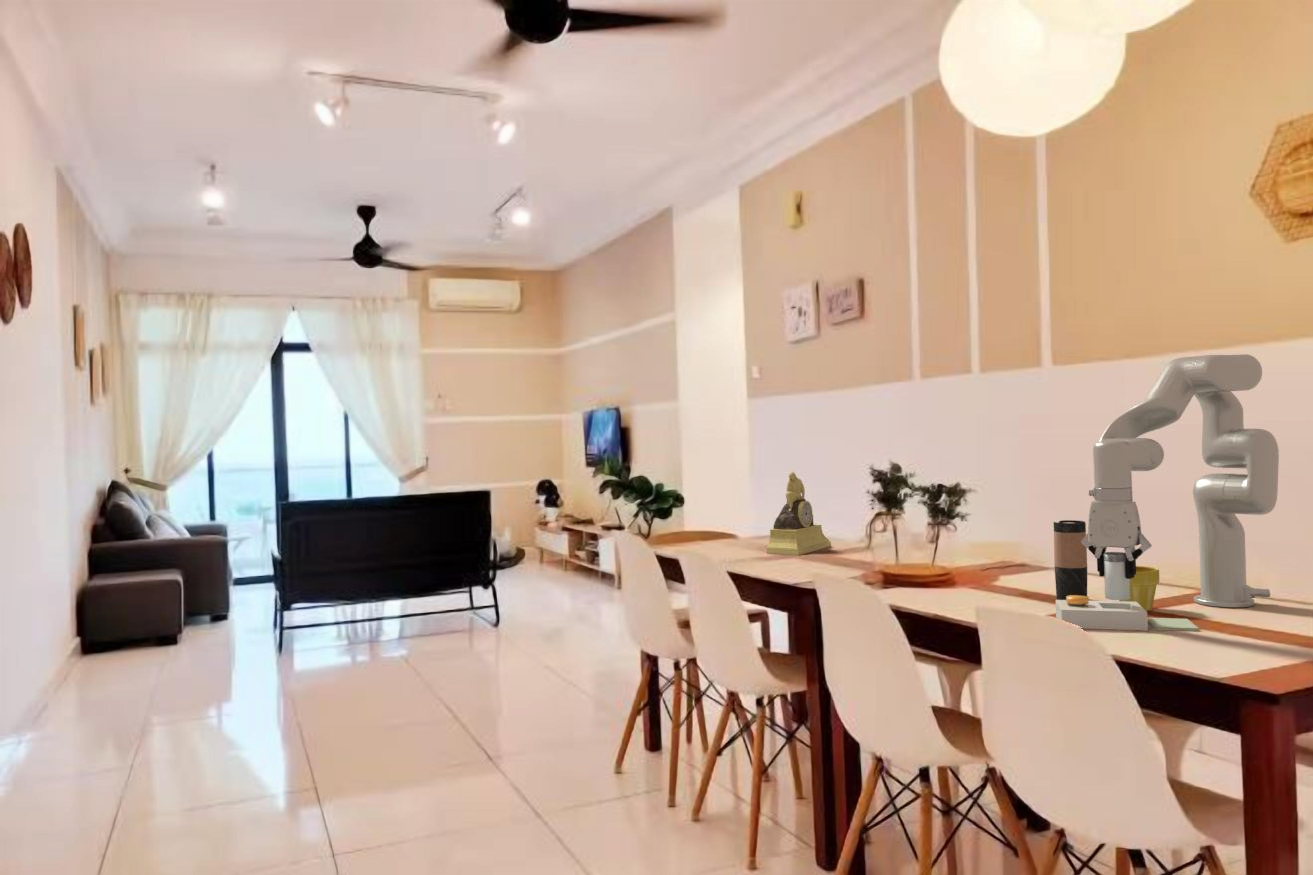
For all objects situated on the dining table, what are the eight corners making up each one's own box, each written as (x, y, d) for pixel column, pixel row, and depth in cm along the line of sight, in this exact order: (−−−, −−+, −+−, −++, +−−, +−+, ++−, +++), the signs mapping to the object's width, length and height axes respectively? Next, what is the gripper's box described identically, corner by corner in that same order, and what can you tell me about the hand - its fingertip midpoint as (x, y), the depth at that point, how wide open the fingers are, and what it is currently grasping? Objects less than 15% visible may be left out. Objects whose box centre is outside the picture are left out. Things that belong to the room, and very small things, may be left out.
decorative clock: (798, 555, 332) (795, 473, 332) (766, 553, 340) (764, 473, 339) (831, 546, 355) (828, 469, 355) (801, 544, 362) (798, 469, 362)
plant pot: (1102, 607, 222) (1101, 567, 222) (1132, 603, 226) (1131, 563, 226) (1139, 614, 213) (1138, 573, 213) (1170, 610, 217) (1169, 569, 217)
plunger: (1087, 613, 208) (1087, 595, 208) (1090, 617, 204) (1089, 599, 204) (1065, 613, 209) (1065, 594, 209) (1068, 617, 205) (1067, 598, 205)
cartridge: (1110, 594, 208) (1108, 551, 208) (1133, 597, 204) (1132, 552, 204) (1101, 598, 205) (1099, 554, 204) (1124, 600, 201) (1123, 555, 201)
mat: (1187, 621, 204) (1187, 618, 204) (1198, 630, 195) (1198, 628, 195) (1147, 620, 207) (1147, 617, 207) (1157, 629, 197) (1156, 626, 197)
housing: (1136, 619, 208) (1136, 601, 208) (1147, 630, 197) (1147, 611, 197) (1056, 616, 214) (1055, 599, 214) (1061, 627, 202) (1061, 609, 202)
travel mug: (1091, 602, 229) (1089, 523, 229) (1059, 602, 230) (1056, 523, 230) (1084, 597, 236) (1081, 519, 236) (1052, 597, 238) (1050, 520, 238)
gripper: (1067, 496, 208) (1071, 575, 208) (1147, 498, 195) (1151, 582, 195) (1082, 493, 213) (1085, 571, 213) (1160, 495, 200) (1164, 577, 200)
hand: (1116, 575), depth 204 cm, fingers closed on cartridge, 5 cm apart
